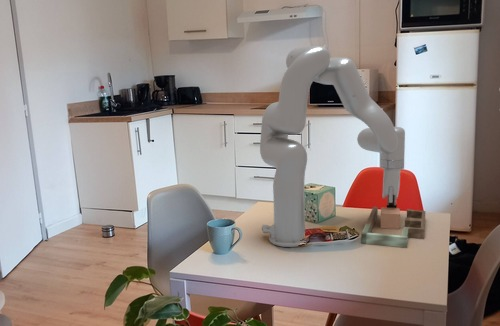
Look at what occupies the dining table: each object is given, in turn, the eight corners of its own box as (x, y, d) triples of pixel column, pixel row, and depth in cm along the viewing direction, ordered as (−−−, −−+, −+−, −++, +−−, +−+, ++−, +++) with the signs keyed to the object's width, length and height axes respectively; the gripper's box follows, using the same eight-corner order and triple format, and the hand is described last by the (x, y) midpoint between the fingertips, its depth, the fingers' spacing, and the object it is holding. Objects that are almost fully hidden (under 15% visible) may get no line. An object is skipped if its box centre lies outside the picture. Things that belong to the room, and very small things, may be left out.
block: (380, 228, 160) (380, 213, 159) (380, 221, 166) (380, 207, 166) (399, 229, 158) (400, 214, 157) (398, 222, 165) (399, 208, 164)
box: (361, 243, 147) (361, 233, 146) (373, 214, 174) (373, 206, 174) (422, 249, 141) (423, 239, 140) (425, 218, 168) (425, 210, 167)
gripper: (383, 159, 172) (382, 209, 176) (378, 167, 159) (377, 221, 162) (405, 160, 170) (404, 210, 173) (402, 168, 156) (401, 223, 160)
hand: (391, 215), depth 168 cm, fingers closed
